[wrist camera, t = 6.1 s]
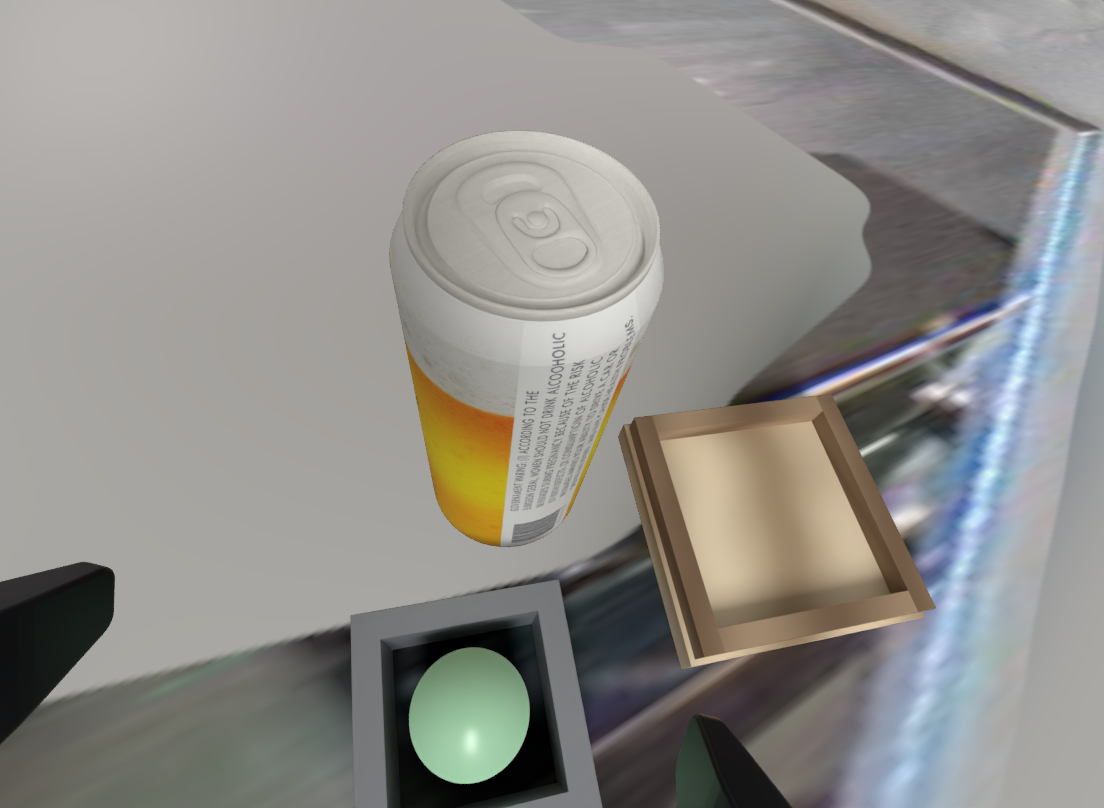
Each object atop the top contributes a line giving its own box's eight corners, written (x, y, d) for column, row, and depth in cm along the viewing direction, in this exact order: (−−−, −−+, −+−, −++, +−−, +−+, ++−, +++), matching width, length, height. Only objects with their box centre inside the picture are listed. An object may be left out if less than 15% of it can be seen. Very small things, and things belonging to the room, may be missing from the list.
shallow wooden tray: (681, 669, 21) (700, 663, 20) (618, 436, 26) (628, 414, 24) (905, 621, 23) (943, 612, 21) (809, 412, 28) (833, 389, 26)
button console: (373, 862, 18) (355, 885, 15) (366, 628, 21) (350, 615, 18) (587, 807, 19) (604, 821, 16) (549, 596, 22) (558, 579, 20)
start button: (421, 789, 18) (413, 797, 16) (412, 666, 20) (405, 659, 17) (532, 763, 18) (539, 767, 16) (515, 646, 20) (519, 637, 18)
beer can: (531, 401, 27) (580, 95, 14) (601, 509, 24) (738, 265, 11) (411, 455, 25) (334, 157, 12) (474, 579, 22) (466, 379, 9)
